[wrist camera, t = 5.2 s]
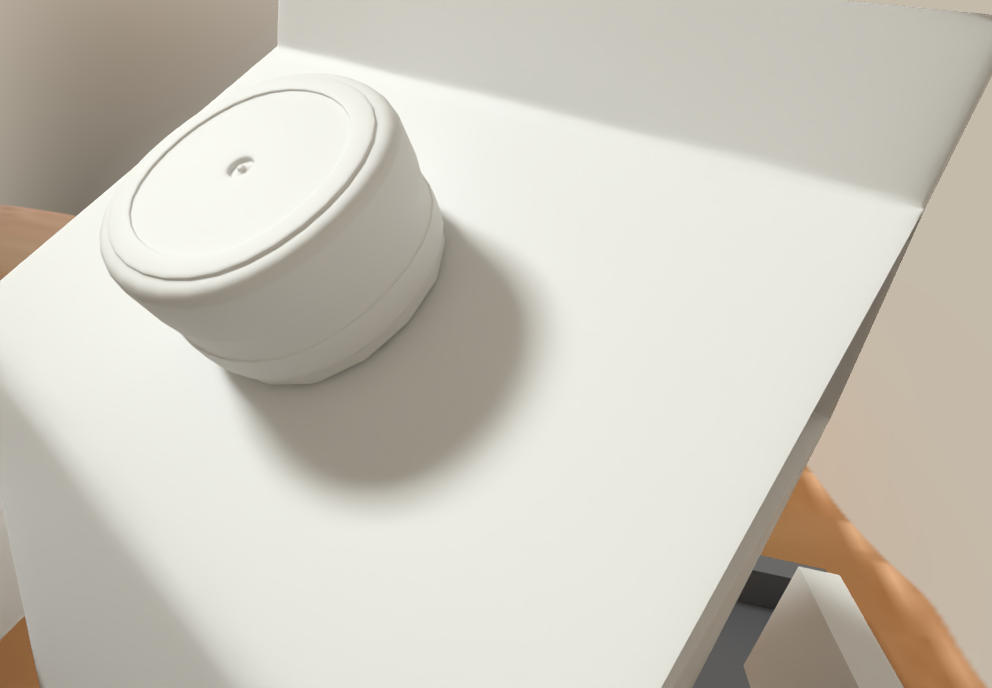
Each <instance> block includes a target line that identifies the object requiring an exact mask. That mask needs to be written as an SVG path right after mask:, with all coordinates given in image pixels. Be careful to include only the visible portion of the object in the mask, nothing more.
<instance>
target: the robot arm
mask: <svg viewBox="0 0 992 688" xmlns="http://www.w3.org/2000/svg"><path fill="white" fill-rule="evenodd" d="M24 616H25V613H24V609H23V604H22V599H21V594H20V589H19V585H18V580H17V575H16V570H15V566H14V561H13V556H12V551H11V546H10V542H9V537H8V532H7V527H6V523H5V518H4V513H3V508H2V503H1V499H0V640H1V639H2V638H3V637H4V636H5V635H6V634H7V633H8V632H9V631H10V630H11V629H12V628H13V627H14V626H15V625H16V624H17V623H18V622H19V621H20V620H21V619H22V618H23V617H24ZM743 666H744V669H745V672H746V675H747V679H748V682H749V685H750V688H904V687H903V685H902V684H901V682H900V680H899V678H898V677H897V675H896V673H895V671H894V670H893V668H892V666H891V664H890V663H889V661H888V659H887V657H886V656H885V654H884V652H883V650H882V649H881V647H880V645H879V643H878V642H877V640H876V638H875V636H874V635H873V633H872V631H871V629H870V628H869V626H868V624H867V622H866V621H865V619H864V617H863V615H862V614H861V612H860V610H859V608H858V607H857V605H856V603H855V601H854V600H853V598H852V596H851V594H850V593H849V591H848V589H847V587H846V586H845V584H844V582H843V580H842V579H841V577H840V575H836V574H831V573H827V572H822V571H818V570H813V569H809V568H804V567H800V566H798V568H797V570H796V572H795V574H794V575H793V577H792V579H791V581H790V583H789V584H788V586H787V588H786V590H785V592H784V593H783V595H782V597H781V599H780V601H779V602H778V604H777V606H776V608H775V610H774V611H773V613H772V615H771V617H770V619H769V620H768V622H767V624H766V626H765V628H764V629H763V631H762V633H761V635H760V637H759V638H758V640H757V642H756V644H755V646H754V647H753V649H752V651H751V653H750V655H749V656H748V658H747V660H746V662H745V664H744V665H743Z"/></svg>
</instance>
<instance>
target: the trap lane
mask: <svg viewBox="0 0 992 688" xmlns="http://www.w3.org/2000/svg"><path fill="white" fill-rule="evenodd" d="M798 566H800V567H804V568H809V569H813V570H818V571H822V572H826V570H825V569H821V568H816V567H811V566H807V565H802V564H798V563H793V562H788V561H784V560H779V559H775V558H770V557H766V556H761V555H760V557H759V558H758V560H757V562H756V564H755V566H754V568H753V570H752V572H751V574H750V576H749V578H748V580H747V582H746V584H745V586H744V588H743V590H742V592H741V594H740V596H739V598H738V600H737V602H736V603H735V605H734V607H733V609H732V611H731V613H730V615H729V617H728V619H727V621H726V623H725V625H724V627H723V629H722V631H721V633H720V635H719V637H718V639H717V641H716V643H715V645H714V646H713V648H712V650H711V652H710V654H709V656H708V658H707V660H706V662H705V664H704V666H703V668H702V670H701V672H700V674H699V676H698V678H697V680H696V682H695V684H694V686H693V688H750V685H749V682H748V679H747V675H746V672H745V669H744V666H743V665H744V664H745V662H746V660H747V658H748V656H749V655H750V653H751V651H752V649H753V647H754V646H755V644H756V642H757V640H758V638H759V637H760V635H761V633H762V631H763V629H764V628H765V626H766V624H767V622H768V620H769V619H770V617H771V615H772V613H773V611H774V610H775V608H776V606H777V604H778V602H779V601H780V599H781V597H782V595H783V593H784V592H785V590H786V588H787V586H788V584H789V583H790V581H791V579H792V577H793V575H794V574H795V572H796V570H797V568H798Z"/></svg>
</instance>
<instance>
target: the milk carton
mask: <svg viewBox="0 0 992 688" xmlns="http://www.w3.org/2000/svg"><path fill="white" fill-rule="evenodd" d="M991 76H992V15H989V14H978V13H968V12H958V11H947V10H936V9H926V8H916V7H906V6H895V5H885V4H874V3H864V2H854V1H843V0H279V2H278V45H277V47H276V48H274V49H273V51H271V52H270V53H269V54H268V55H267V56H265V57H264V58H263V59H262V60H261V61H260V62H258V63H257V64H256V65H255V66H254V67H252V68H251V69H250V70H249V71H248V72H246V73H245V74H244V75H243V76H242V77H240V78H239V79H238V80H237V81H236V82H235V83H233V84H232V85H231V86H230V87H229V88H227V89H226V90H225V91H224V92H223V93H222V94H220V95H219V96H218V97H217V98H216V99H215V100H213V101H212V102H211V103H210V104H209V105H207V106H206V107H205V108H204V109H203V110H201V111H200V112H199V113H198V114H197V115H195V116H194V117H192V118H191V119H189V120H188V121H186V122H185V123H184V124H183V125H181V126H180V127H179V128H177V129H176V130H175V131H173V132H172V133H171V134H169V135H168V136H167V137H166V138H165V139H164V140H162V141H161V142H160V143H159V144H158V145H157V146H156V147H155V148H153V149H152V150H151V151H150V152H149V153H148V154H147V155H146V156H145V157H144V158H143V159H142V160H141V161H140V162H139V163H138V165H136V166H135V167H134V168H133V169H132V170H131V171H130V172H128V173H127V174H126V175H125V176H124V177H122V178H121V179H120V180H119V181H118V182H116V183H115V184H114V185H113V186H112V187H110V188H109V189H108V190H107V191H106V192H105V193H103V194H102V195H101V196H100V197H99V198H97V199H96V200H95V201H94V202H93V203H92V204H91V205H89V206H88V207H87V208H86V209H84V210H83V211H82V212H81V213H80V214H78V215H77V216H76V217H75V218H74V219H73V220H71V221H70V222H69V223H68V224H67V225H65V226H64V227H63V228H62V229H61V230H60V231H58V232H57V233H56V234H55V235H54V236H52V237H51V238H50V239H49V240H48V241H47V242H45V243H44V244H43V245H42V246H41V247H39V248H38V249H37V250H36V251H35V252H33V253H32V254H31V255H30V256H29V257H28V258H26V259H25V260H24V261H23V262H22V263H20V264H19V265H18V266H17V267H16V268H15V269H13V270H12V271H11V272H10V273H9V274H8V275H6V276H5V277H4V278H3V279H2V280H1V281H0V499H1V503H2V508H3V513H4V518H5V523H6V527H7V532H8V537H9V542H10V546H11V551H12V556H13V561H14V566H15V570H16V575H17V580H18V585H19V589H20V594H21V599H22V604H23V609H24V613H25V618H26V623H27V628H28V632H29V637H30V642H31V647H32V652H33V656H34V661H35V666H36V671H37V675H38V680H39V685H40V688H693V686H694V684H695V682H696V680H697V678H698V676H699V674H700V672H701V670H702V668H703V666H704V664H705V662H706V660H707V658H708V656H709V654H710V652H711V650H712V648H713V646H714V645H715V643H716V641H717V639H718V637H719V635H720V633H721V631H722V629H723V627H724V625H725V623H726V621H727V619H728V617H729V615H730V613H731V611H732V609H733V607H734V605H735V603H736V602H737V600H738V598H739V596H740V594H741V592H742V590H743V588H744V586H745V584H746V582H747V580H748V578H749V576H750V574H751V572H752V570H753V568H754V566H755V564H756V562H757V560H758V558H759V557H760V555H761V553H762V551H763V549H764V547H765V545H766V543H767V541H768V539H769V537H770V535H771V533H772V531H773V529H774V527H775V525H776V523H777V521H778V519H779V517H780V515H781V514H782V512H783V510H784V508H785V506H786V504H787V502H788V500H789V498H790V496H791V494H792V492H793V490H794V488H795V486H796V484H797V482H798V480H799V478H800V476H801V474H802V472H803V470H804V469H805V467H806V465H807V463H808V461H809V459H810V457H811V455H812V453H813V451H814V449H815V447H816V445H817V443H818V441H819V439H820V437H821V435H822V433H823V431H824V429H825V427H826V425H827V424H828V422H829V420H830V418H831V415H832V414H833V411H834V409H835V406H836V405H837V402H838V400H839V398H840V396H841V394H842V391H843V389H844V387H845V385H846V383H847V380H848V378H849V376H850V374H851V371H852V369H853V367H854V365H855V363H856V360H857V358H858V356H859V354H860V352H861V349H862V347H863V345H864V342H865V340H866V338H867V336H868V334H869V332H870V329H871V327H872V325H873V323H874V320H875V318H876V316H877V313H878V312H879V309H880V307H881V305H882V303H883V301H884V298H885V296H886V294H887V292H888V289H889V287H890V285H891V283H892V281H893V278H894V276H895V274H896V272H897V270H898V267H899V265H900V263H901V261H902V259H903V256H904V254H905V252H906V249H907V247H908V245H909V243H910V241H911V239H912V236H913V234H914V232H915V230H916V227H917V225H918V223H919V221H920V219H921V216H922V214H923V212H924V210H925V207H926V205H927V203H928V201H929V199H930V197H931V195H932V193H933V191H934V189H935V188H936V186H937V184H938V182H939V180H940V178H941V176H942V174H943V172H944V170H945V167H946V166H947V164H948V162H949V160H950V158H951V155H952V154H953V152H954V150H955V148H956V146H957V144H958V142H959V140H960V138H961V135H962V134H963V132H964V130H965V128H966V126H967V124H968V122H969V120H970V118H971V116H972V114H973V112H974V110H975V108H976V106H977V104H978V102H979V100H980V98H981V96H982V94H983V92H984V90H985V88H986V86H987V84H988V82H989V80H990V78H991Z"/></svg>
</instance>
